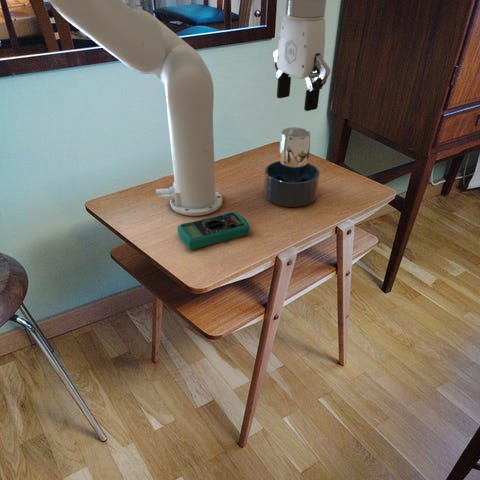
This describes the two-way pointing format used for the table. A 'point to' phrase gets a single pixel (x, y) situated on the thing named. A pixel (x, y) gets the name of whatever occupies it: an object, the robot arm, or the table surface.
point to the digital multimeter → (213, 230)
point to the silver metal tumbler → (294, 154)
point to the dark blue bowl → (290, 186)
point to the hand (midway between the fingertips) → (296, 103)
